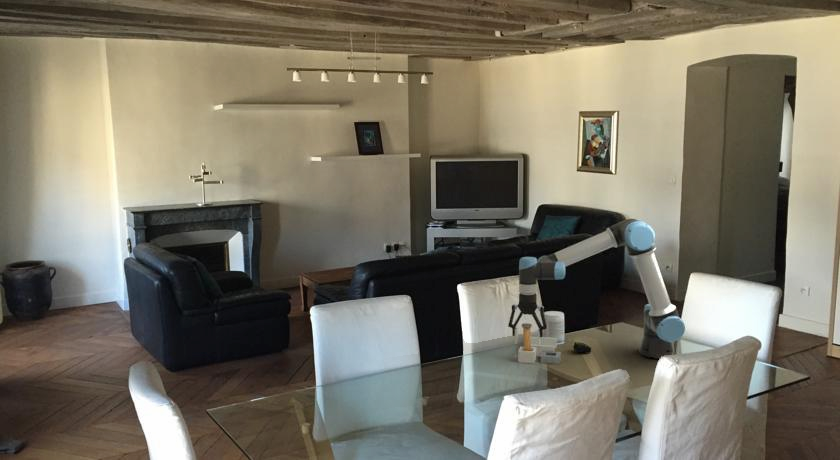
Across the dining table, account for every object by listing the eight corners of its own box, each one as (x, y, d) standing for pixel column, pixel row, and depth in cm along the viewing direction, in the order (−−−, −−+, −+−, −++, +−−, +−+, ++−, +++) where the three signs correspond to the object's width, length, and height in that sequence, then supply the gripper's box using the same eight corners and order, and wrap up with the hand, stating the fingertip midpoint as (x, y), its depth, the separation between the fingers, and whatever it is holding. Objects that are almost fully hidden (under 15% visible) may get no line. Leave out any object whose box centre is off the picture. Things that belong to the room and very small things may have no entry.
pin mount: (560, 358, 316) (561, 352, 316) (559, 364, 308) (559, 357, 308) (542, 357, 318) (542, 350, 318) (540, 362, 310) (540, 356, 310)
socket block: (536, 358, 316) (536, 347, 316) (534, 363, 310) (534, 352, 309) (520, 357, 318) (520, 346, 318) (518, 362, 311) (518, 351, 311)
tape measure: (576, 353, 320) (578, 345, 320) (570, 348, 327) (571, 340, 327) (590, 355, 322) (592, 347, 322) (583, 350, 328) (585, 342, 328)
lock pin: (533, 359, 315) (532, 323, 313) (531, 362, 311) (530, 325, 309) (523, 359, 316) (522, 323, 315) (521, 361, 312) (521, 325, 311)
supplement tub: (568, 343, 339) (568, 313, 337) (556, 347, 333) (556, 316, 331) (551, 339, 346) (551, 309, 344) (539, 343, 340) (539, 313, 338)
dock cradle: (556, 348, 331) (556, 337, 331) (554, 357, 318) (554, 346, 317) (528, 346, 335) (528, 336, 334) (524, 355, 321) (524, 344, 320)
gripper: (554, 292, 311) (553, 343, 314) (503, 290, 317) (503, 339, 319) (552, 296, 304) (552, 347, 307) (501, 293, 309) (501, 344, 312)
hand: (527, 343), depth 313 cm, fingers open, 9 cm apart
